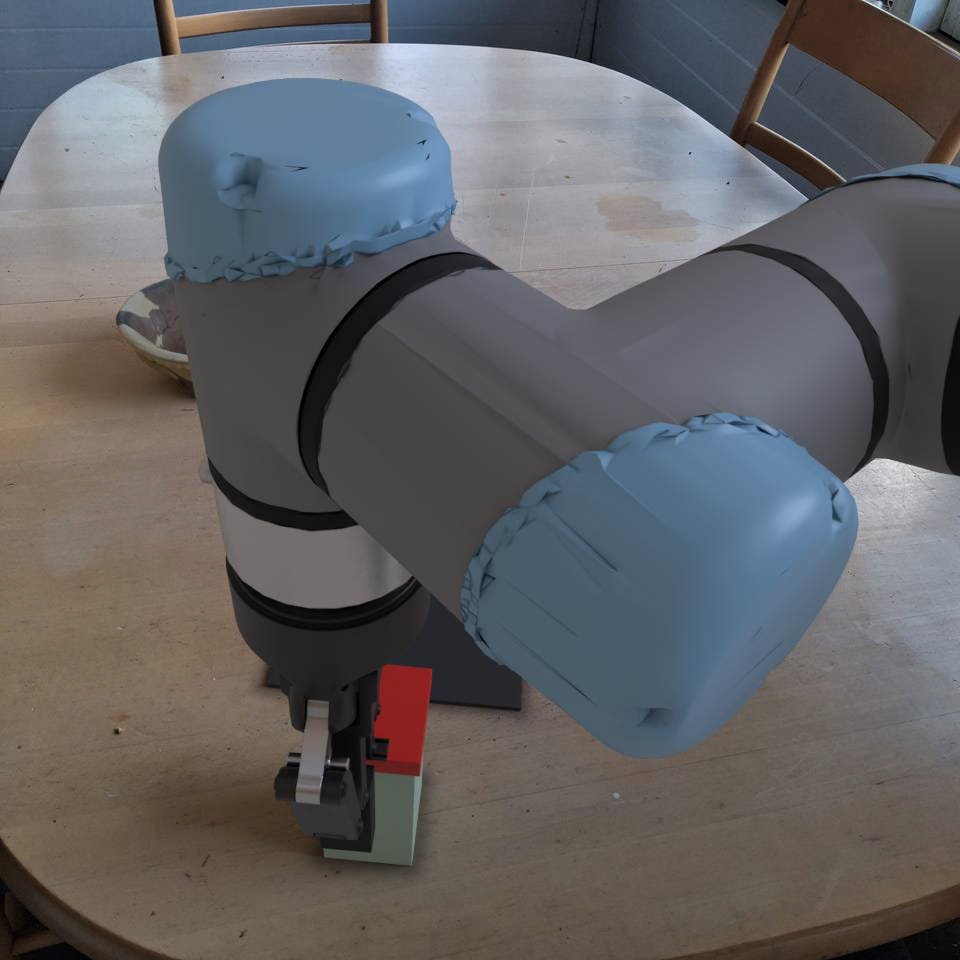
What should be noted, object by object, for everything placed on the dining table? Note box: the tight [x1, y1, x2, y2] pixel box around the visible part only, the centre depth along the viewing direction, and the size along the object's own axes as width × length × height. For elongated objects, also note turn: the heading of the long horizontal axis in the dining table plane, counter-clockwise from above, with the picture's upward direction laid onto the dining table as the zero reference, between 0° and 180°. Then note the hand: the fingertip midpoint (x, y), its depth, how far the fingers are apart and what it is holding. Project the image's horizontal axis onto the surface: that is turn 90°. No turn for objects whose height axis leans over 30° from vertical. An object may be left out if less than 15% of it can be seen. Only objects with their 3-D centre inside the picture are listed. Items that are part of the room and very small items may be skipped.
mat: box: [266, 593, 523, 712], centre depth 82 cm, size 30×20×1 cm, turn 176°
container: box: [322, 665, 432, 867], centre depth 59 cm, size 7×7×14 cm
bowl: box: [115, 277, 195, 397], centre depth 96 cm, size 18×18×10 cm
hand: (348, 836), depth 49 cm, fingers closed
